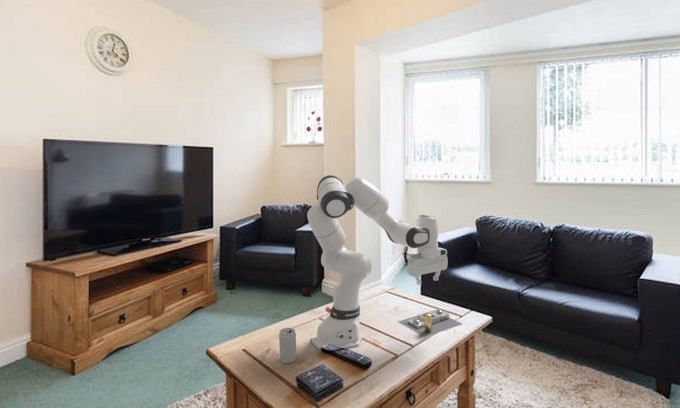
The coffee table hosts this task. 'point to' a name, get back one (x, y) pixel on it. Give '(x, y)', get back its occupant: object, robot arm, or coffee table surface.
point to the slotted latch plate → (436, 317)
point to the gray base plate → (435, 327)
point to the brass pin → (428, 322)
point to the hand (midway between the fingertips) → (427, 282)
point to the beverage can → (287, 345)
